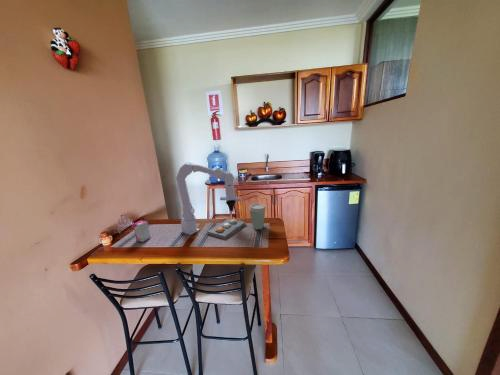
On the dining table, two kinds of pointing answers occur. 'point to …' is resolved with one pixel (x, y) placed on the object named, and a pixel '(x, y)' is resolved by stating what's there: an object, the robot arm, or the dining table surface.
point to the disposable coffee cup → (257, 215)
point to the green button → (233, 221)
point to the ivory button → (226, 225)
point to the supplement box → (141, 231)
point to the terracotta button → (219, 229)
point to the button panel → (226, 232)
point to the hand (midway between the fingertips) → (231, 210)
